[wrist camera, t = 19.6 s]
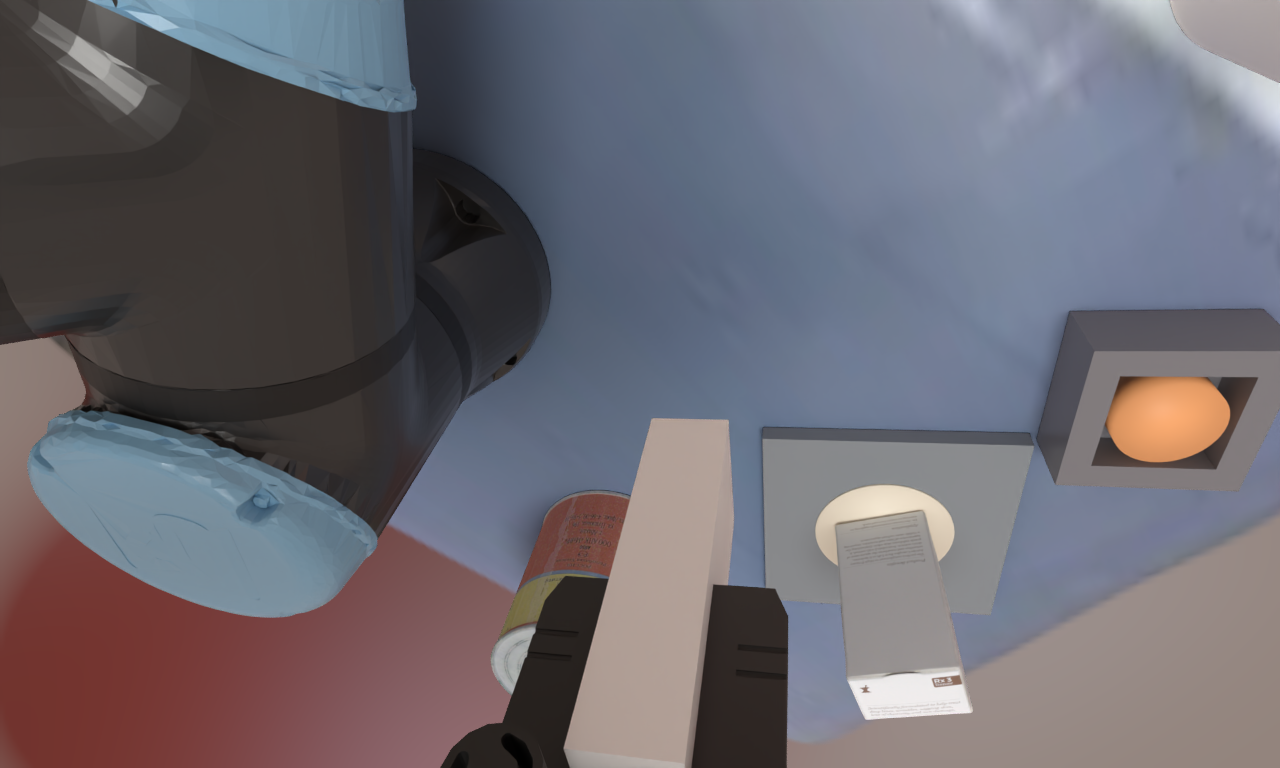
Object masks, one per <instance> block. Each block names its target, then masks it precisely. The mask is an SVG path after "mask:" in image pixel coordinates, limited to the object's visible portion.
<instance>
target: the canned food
mask: <svg viewBox="0 0 1280 768" xmlns="http://www.w3.org/2000/svg"><path fill="white" fill-rule="evenodd" d="M630 498H631V496H629V495H626V494H622V493H617V492H612V491H601V490H593V491H583V492H578V493H574V494H571V495H569V496H566V497H564V498H562V499H560V500H559V501H557V502H556V503H555V504H554V505H553V506H552V507H551V508H550V509H549V510H548V512H547V513H546V516H545V518H544V520H543V524H542V529H541V531H540V534H539V536H538V539H537V542H536V544H535V547H534V549H533V552H532V554H531V557H530V560H529V562H528V565H527V567H526V570H525V572H524V575H523V577H522V580H521V583H520V585H519V588H518V590H517V593H516V595H515V598H514V601H513V603H512V606H511V608H510V611H509V613H508V616H507V619H506V621H505V624H504V626H503V629H502V631H501V634H500V636H499V639H498V641H497V642H496V644H495V646H494V648H493V650H492V654H491V666H492V670H493V672H494V674H495V676H496V678H497V680H498V681H499V683H500V684H501V685H502V686H503V688H504V689H505V690H506V691H507V692H508V693H509V694H510V695H511V696H512V694H513V691H514V688H515V685H516V682H517V679H518V676H519V674H520V671H521V668H522V665H523V662H524V659H525V657H527V650H528V648H529V645H530V642H531V639H532V636H533V634H535V627H536V625H537V622H538V619H539V616H540V613H541V610H542V607H543V604H544V601H545V599H546V598H547V597H548V596H549V594H550V593H551V592H552V591H553V590H554V589H555V587H556V586H557V585H558V584H559V583H560V581H561V580H562V579H563V578H564V577H565V576H577V577H591V578H605V579H609V577H610V573H611V569H612V565H613V562H614V558H615V554H616V550H617V547H618V543H619V539H620V536H621V532H622V528H623V524H624V521H625V517H626V513H627V509H628V506H629V502H630Z"/></svg>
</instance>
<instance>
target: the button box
mask: <svg viewBox="0 0 1280 768" xmlns="http://www.w3.org/2000/svg"><path fill="white" fill-rule="evenodd" d="M1120 376H1142V377H1208V378H1209V380H1210V381H1211V382H1212V383H1213V385H1214V386H1215V387H1216V388H1217V390H1218V391H1219V392H1220V393H1221V395H1222V396H1223V397H1224V398H1225V400H1226V401H1227V403H1228V405H1229V408H1230V419H1229V423H1228V425H1227V427H1226V429H1225V431H1224V432H1223V434H1222V435H1221V436H1220V437H1219V438H1218V439H1217V440H1216V441H1215V442H1214V443H1213V444H1211V445H1210V446H1209V447H1207V448H1206V449H1204V450H1202V451H1200V452H1199V453H1196V454H1194V455H1192V456H1189V457H1186V458H1183V459H1179V460H1175V461H1169V462H1146V461H1141V460H1137V459H1134V458H1132V457H1129V456H1128V455H1126V454H1124V453H1123V452H1122V451H1120V449H1119V448H1118V447H1117V446H1116V444H1115V443H1114V441H1113V439H1112V437H1111V435H1110V434H1109V432H1108V430H1107V428H1106V426H1105V422H1106V419H1107V415H1108V412H1109V409H1110V406H1111V403H1112V400H1113V397H1114V394H1115V391H1116V388H1117V385H1118V382H1119V379H1120ZM1279 409H1280V324H1279V323H1278V322H1277V321H1276V320H1274V319H1273V318H1272V317H1271V316H1270V315H1269V314H1268V313H1267V312H1266V311H1265V310H1264V309H1228V310H1137V311H1070V313H1069V317H1068V321H1067V325H1066V328H1065V332H1064V336H1063V340H1062V344H1061V348H1060V351H1059V355H1058V359H1057V363H1056V367H1055V371H1054V374H1053V378H1052V382H1051V386H1050V390H1049V394H1048V397H1047V401H1046V405H1045V409H1044V413H1043V417H1042V421H1041V424H1040V428H1039V432H1038V436H1037V442H1038V444H1039V447H1040V449H1041V452H1042V454H1043V456H1044V459H1045V461H1046V464H1047V466H1048V469H1049V471H1050V473H1051V476H1052V478H1053V481H1054V483H1055V485H1076V486H1104V487H1131V488H1159V489H1187V490H1215V491H1239V489H1240V487H1241V485H1242V483H1243V481H1244V479H1245V477H1246V475H1247V473H1248V471H1249V469H1250V467H1251V465H1252V463H1253V461H1254V459H1255V457H1256V455H1257V453H1258V451H1259V449H1260V447H1261V445H1262V443H1263V441H1264V439H1265V437H1266V435H1267V433H1268V431H1269V429H1270V427H1271V425H1272V423H1273V421H1274V419H1275V417H1276V415H1277V413H1278V411H1279Z"/></svg>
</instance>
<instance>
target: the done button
mask: <svg viewBox="0 0 1280 768" xmlns="http://www.w3.org/2000/svg"><path fill="white" fill-rule="evenodd" d="M1229 419H1230V408H1229V405H1228V403H1227V401H1226V400H1225V398H1224V397H1223V396H1222V395H1221V393H1220V392H1219V391H1218V390H1217V388H1216V387H1215V386H1214V385H1213V383H1212V382H1211V381H1210V380H1209V378H1208V377H1142V376H1120V379H1119V382H1118V385H1117V388H1116V391H1115V394H1114V397H1113V400H1112V403H1111V406H1110V409H1109V412H1108V415H1107V419H1106V422H1105V426H1106V428H1107V430H1108V432H1109V434H1110V435H1111V437H1112V439H1113V441H1114V443H1115V444H1116V446H1117V447H1118V448H1119V449H1120V451H1122V452H1123V453H1124V454H1126V455H1128V456H1129V457H1132V458H1134V459H1137V460H1141V461H1146V462H1169V461H1175V460H1179V459H1183V458H1186V457H1189V456H1192V455H1194V454H1196V453H1199V452H1200V451H1202V450H1204V449H1206V448H1207V447H1209V446H1210V445H1211V444H1213V443H1214V442H1215V441H1216V440H1217V439H1218V438H1219V437H1220V436H1221V435H1222V434H1223V432H1224V431H1225V429H1226V427H1227V425H1228V423H1229Z"/></svg>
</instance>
